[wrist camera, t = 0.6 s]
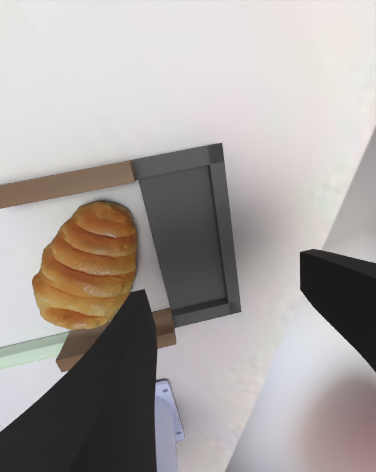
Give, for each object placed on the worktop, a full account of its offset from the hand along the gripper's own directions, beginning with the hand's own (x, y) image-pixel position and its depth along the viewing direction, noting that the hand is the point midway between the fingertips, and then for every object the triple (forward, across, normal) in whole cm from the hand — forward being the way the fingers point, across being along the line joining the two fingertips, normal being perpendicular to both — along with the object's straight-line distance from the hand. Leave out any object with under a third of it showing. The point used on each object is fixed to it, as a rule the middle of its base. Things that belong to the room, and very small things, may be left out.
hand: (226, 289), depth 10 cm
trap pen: (+8, 0, +1) cm, 9 cm away
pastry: (+9, +9, +1) cm, 12 cm away
